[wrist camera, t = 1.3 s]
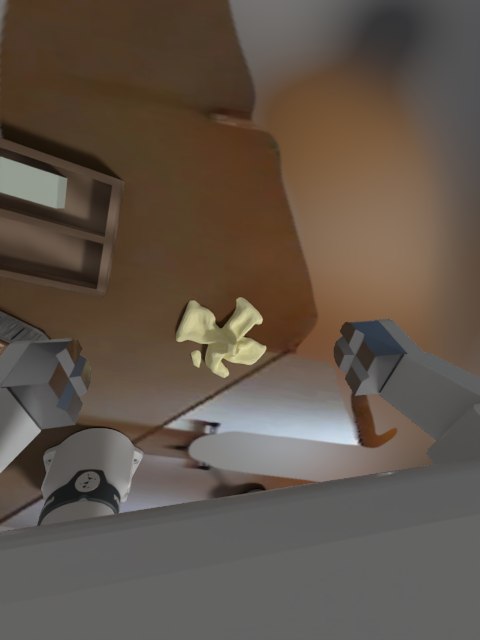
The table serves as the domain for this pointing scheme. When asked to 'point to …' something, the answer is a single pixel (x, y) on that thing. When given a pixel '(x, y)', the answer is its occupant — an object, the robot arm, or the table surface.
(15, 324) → the tin
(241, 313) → the cloth
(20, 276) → the caddy
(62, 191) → the sage block
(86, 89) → the table surface
